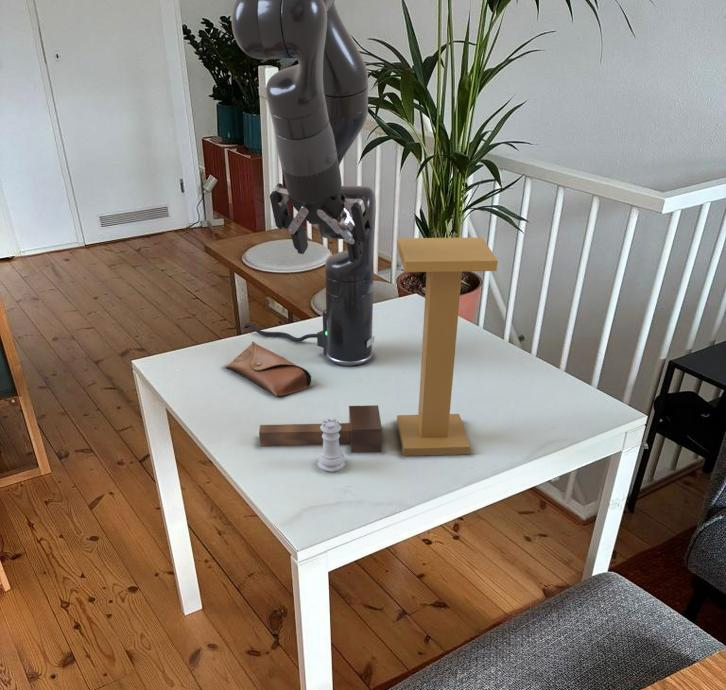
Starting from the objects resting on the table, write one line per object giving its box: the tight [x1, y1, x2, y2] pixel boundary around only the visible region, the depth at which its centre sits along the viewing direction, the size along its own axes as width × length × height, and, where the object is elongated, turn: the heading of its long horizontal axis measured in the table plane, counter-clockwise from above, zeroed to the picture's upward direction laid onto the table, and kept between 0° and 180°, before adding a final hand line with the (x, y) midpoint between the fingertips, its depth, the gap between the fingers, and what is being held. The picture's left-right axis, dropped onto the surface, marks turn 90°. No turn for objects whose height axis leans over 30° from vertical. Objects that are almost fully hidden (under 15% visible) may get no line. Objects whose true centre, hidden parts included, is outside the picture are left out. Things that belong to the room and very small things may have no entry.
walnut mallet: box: [258, 404, 383, 453], centre depth 122 cm, size 20×8×4 cm, turn 93°
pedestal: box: [396, 237, 499, 457], centre depth 116 cm, size 13×11×32 cm
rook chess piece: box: [317, 417, 346, 473], centre depth 115 cm, size 4×4×8 cm
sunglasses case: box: [224, 341, 312, 397], centre depth 142 cm, size 18×7×7 cm, turn 44°
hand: (328, 254), depth 110 cm, fingers open, 8 cm apart
